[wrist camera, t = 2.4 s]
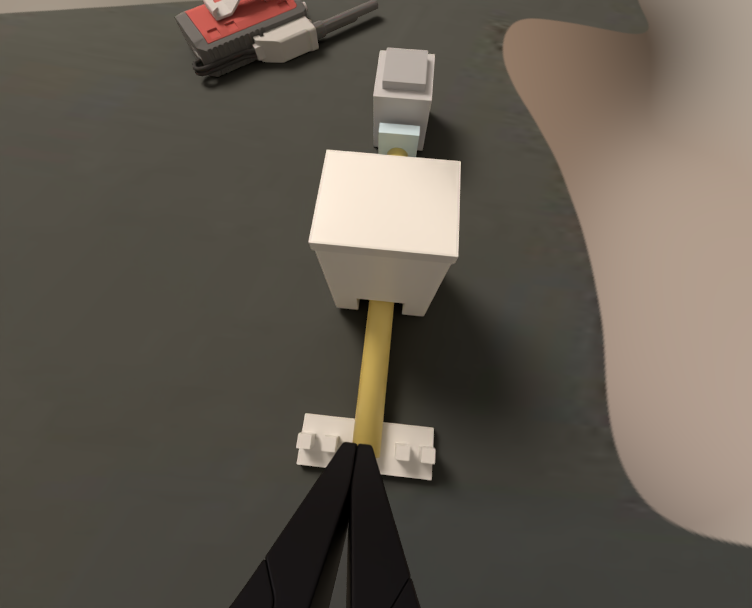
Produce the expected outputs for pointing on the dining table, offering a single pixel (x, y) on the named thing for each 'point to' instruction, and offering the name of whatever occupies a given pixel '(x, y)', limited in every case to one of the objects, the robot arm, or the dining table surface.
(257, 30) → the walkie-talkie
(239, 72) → the dining table surface
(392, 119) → the grey plastic block
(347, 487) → the robot arm
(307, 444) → the wooden handled rake
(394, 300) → the white lidded box
